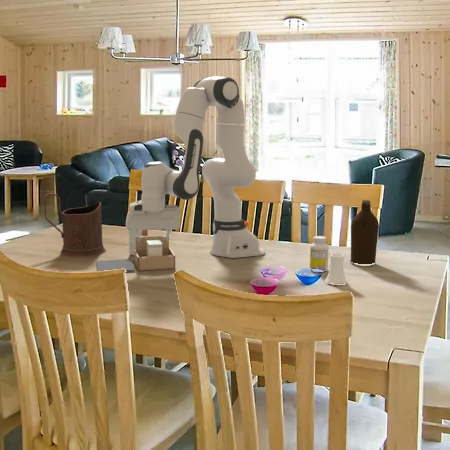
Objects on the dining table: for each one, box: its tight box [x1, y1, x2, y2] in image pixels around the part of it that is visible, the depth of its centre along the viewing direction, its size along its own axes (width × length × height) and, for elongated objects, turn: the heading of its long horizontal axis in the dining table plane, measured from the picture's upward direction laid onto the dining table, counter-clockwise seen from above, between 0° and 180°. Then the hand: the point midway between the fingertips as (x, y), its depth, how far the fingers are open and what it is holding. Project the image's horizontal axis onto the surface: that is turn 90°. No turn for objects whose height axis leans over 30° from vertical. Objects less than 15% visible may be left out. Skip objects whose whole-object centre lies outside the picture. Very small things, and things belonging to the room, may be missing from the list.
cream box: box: [147, 240, 162, 257], centre depth 232 cm, size 5×7×9 cm
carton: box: [134, 235, 176, 272], centre depth 232 cm, size 14×13×10 cm
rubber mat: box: [96, 258, 135, 273], centre depth 229 cm, size 13×16×1 cm
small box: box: [128, 230, 149, 256], centre depth 250 cm, size 8×6×10 cm
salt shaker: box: [324, 253, 348, 284], centre depth 211 cm, size 8×8×10 cm
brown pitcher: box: [43, 193, 107, 258], centre depth 249 cm, size 18×24×25 cm
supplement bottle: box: [309, 235, 329, 272], centre depth 226 cm, size 7×7×13 cm
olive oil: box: [350, 199, 380, 264], centre depth 236 cm, size 11×11×25 cm
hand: (152, 241), depth 231 cm, fingers open, 8 cm apart
